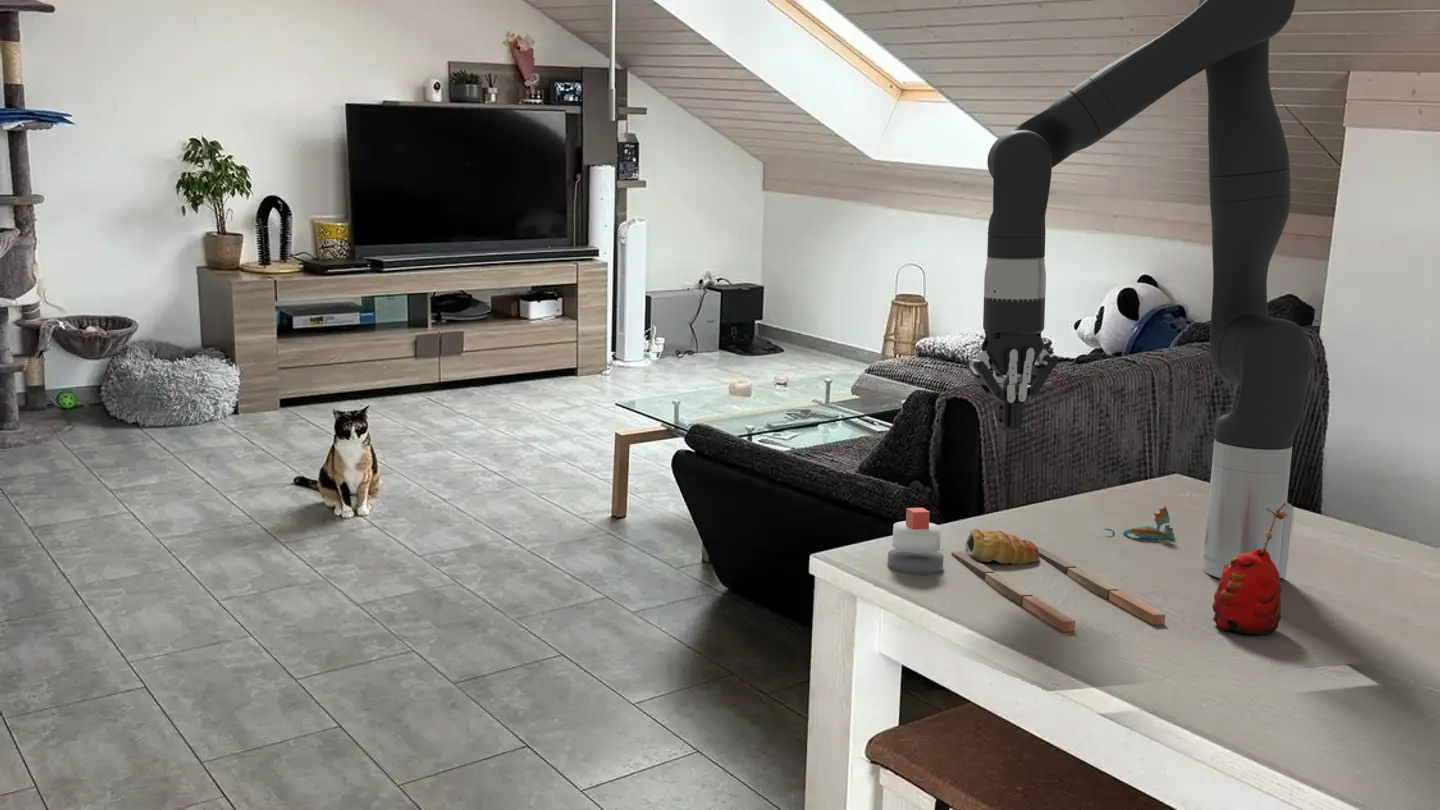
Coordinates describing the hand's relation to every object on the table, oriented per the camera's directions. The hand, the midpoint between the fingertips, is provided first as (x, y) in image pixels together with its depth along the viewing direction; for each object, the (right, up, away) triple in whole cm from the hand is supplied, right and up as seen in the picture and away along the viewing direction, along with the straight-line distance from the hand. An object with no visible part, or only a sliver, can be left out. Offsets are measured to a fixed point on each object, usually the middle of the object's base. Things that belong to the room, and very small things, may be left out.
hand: (1010, 430), depth 165 cm
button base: (-12, -18, 0) cm, 22 cm away
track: (+3, -19, -6) cm, 21 cm away
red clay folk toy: (+22, -22, -18) cm, 37 cm away
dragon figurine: (+18, -16, +18) cm, 30 cm away
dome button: (-12, -15, 0) cm, 19 cm away
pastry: (+1, -19, +2) cm, 19 cm away
